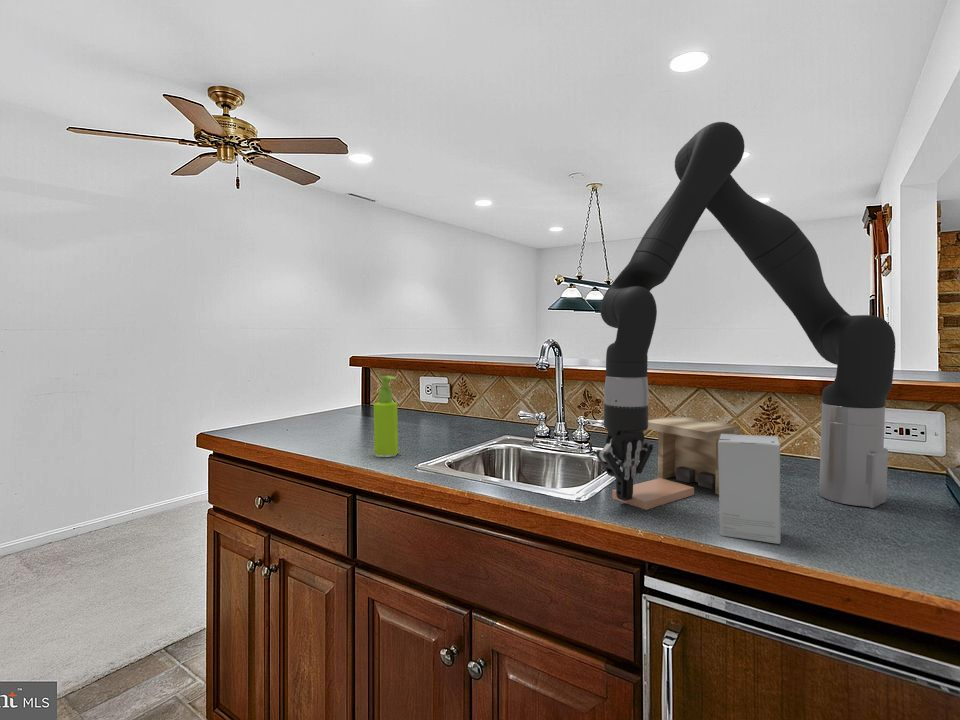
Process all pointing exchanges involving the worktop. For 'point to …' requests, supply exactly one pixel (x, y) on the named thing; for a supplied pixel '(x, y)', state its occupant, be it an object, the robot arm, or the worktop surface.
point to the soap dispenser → (385, 420)
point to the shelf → (690, 449)
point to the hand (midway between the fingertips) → (624, 498)
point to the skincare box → (749, 487)
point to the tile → (656, 493)
